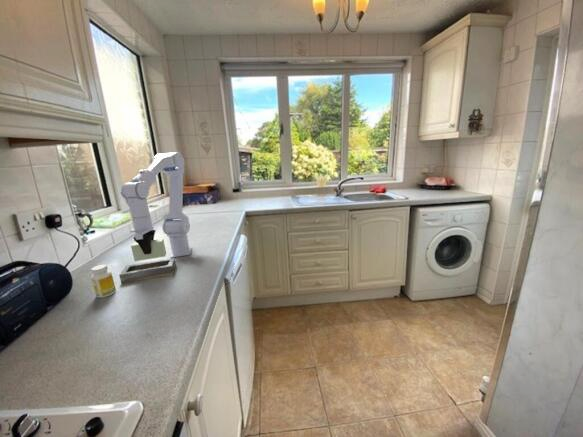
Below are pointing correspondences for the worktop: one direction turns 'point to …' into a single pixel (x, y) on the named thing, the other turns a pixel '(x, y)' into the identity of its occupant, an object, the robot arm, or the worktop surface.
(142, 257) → the door panel
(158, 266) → the frame
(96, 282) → the supplement bottle
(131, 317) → the worktop surface
